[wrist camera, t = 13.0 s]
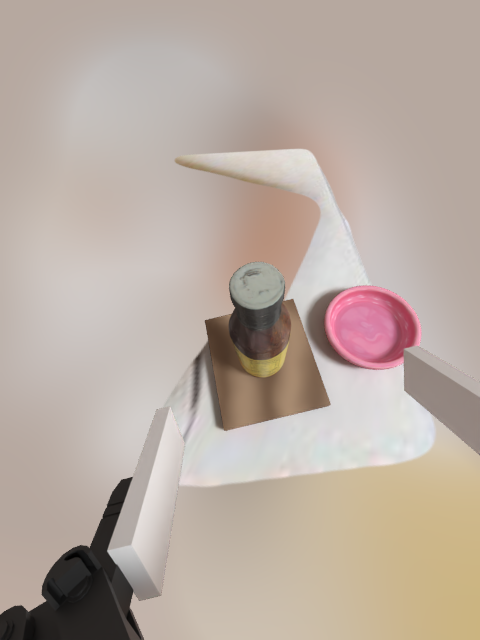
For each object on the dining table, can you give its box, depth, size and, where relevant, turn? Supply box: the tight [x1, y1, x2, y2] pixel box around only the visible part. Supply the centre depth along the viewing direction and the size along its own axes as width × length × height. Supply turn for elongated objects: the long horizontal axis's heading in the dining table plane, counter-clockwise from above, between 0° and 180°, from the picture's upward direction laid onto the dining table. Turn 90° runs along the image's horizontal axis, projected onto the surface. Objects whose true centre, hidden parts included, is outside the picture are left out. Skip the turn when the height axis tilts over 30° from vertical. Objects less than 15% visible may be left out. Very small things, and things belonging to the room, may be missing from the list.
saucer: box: [324, 286, 421, 370], centre depth 37 cm, size 12×12×3 cm
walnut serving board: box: [205, 299, 331, 431], centre depth 37 cm, size 14×16×2 cm
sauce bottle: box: [228, 262, 291, 378], centre depth 27 cm, size 6×6×20 cm
